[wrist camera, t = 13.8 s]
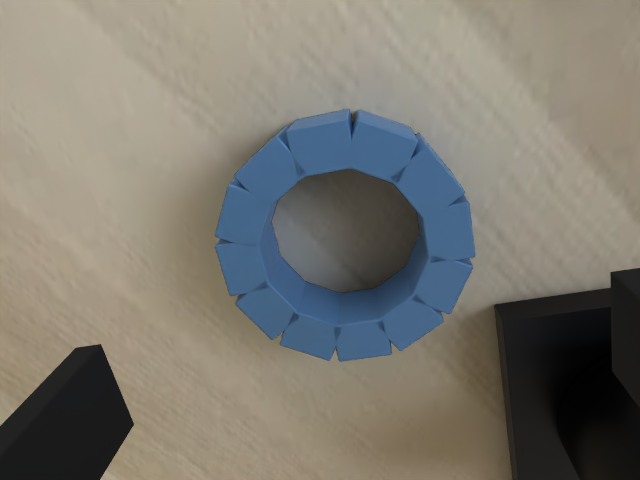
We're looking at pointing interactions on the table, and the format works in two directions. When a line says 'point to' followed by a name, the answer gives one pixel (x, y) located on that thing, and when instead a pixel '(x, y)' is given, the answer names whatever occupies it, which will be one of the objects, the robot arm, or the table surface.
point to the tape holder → (565, 391)
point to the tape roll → (358, 306)
